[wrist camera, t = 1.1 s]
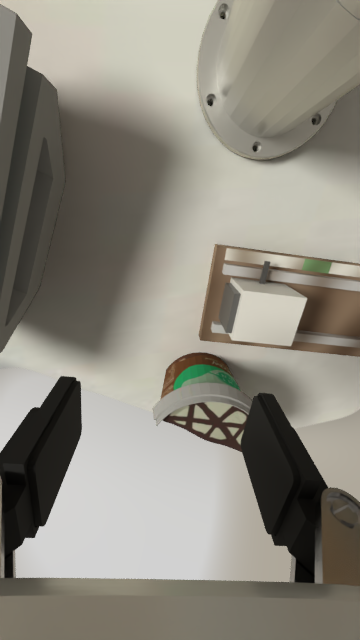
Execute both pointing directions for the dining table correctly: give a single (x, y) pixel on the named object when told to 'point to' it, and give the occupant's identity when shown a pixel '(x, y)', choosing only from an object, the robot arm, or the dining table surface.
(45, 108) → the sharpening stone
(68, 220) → the dining table surface
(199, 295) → the dining table surface
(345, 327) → the gauge board
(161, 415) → the food container
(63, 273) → the dining table surface
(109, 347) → the dining table surface
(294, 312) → the gauge carriage
